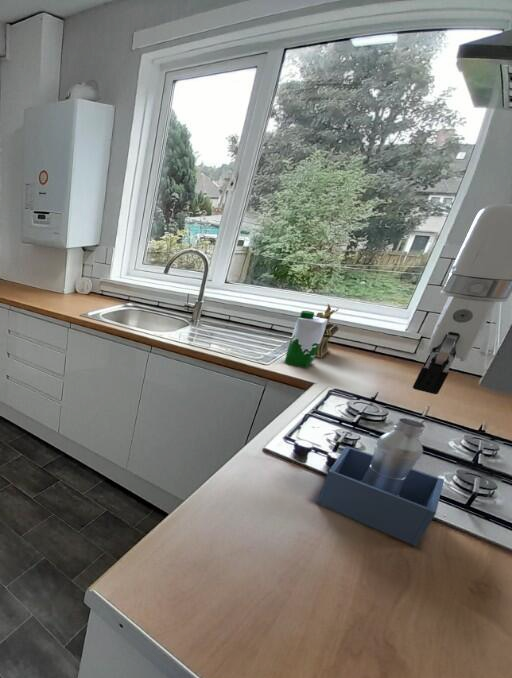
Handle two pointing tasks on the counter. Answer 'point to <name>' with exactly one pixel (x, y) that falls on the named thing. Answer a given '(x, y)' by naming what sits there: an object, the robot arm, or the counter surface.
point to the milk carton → (305, 339)
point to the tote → (381, 497)
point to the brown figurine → (326, 331)
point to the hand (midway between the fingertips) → (428, 383)
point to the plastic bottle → (395, 456)
